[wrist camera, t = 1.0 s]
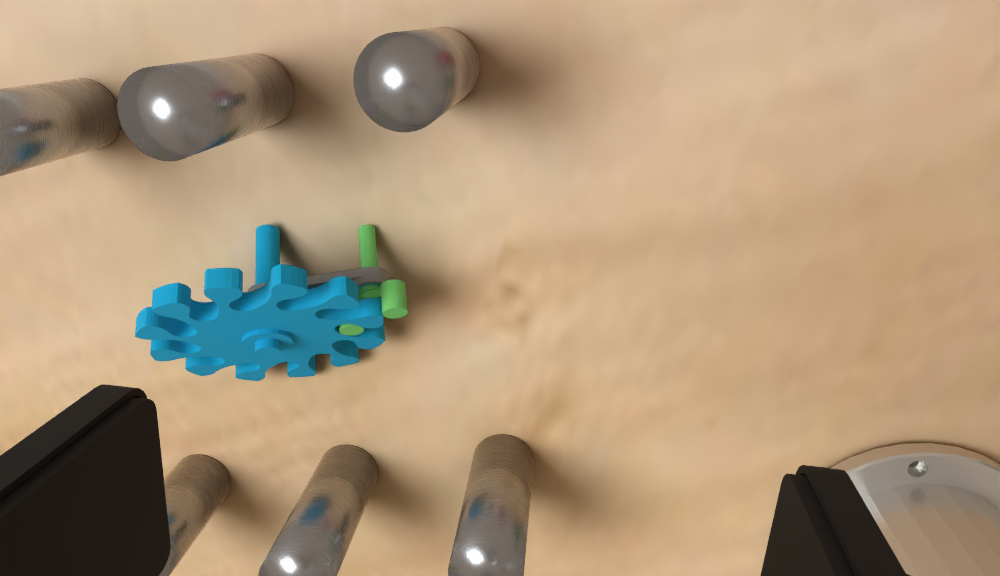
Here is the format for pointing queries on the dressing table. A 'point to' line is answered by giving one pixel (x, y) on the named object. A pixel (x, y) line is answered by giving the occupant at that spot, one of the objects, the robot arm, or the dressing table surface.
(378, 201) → the dressing table surface
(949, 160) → the dressing table surface
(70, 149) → the spacer posts
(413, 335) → the dressing table surface
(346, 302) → the gear
